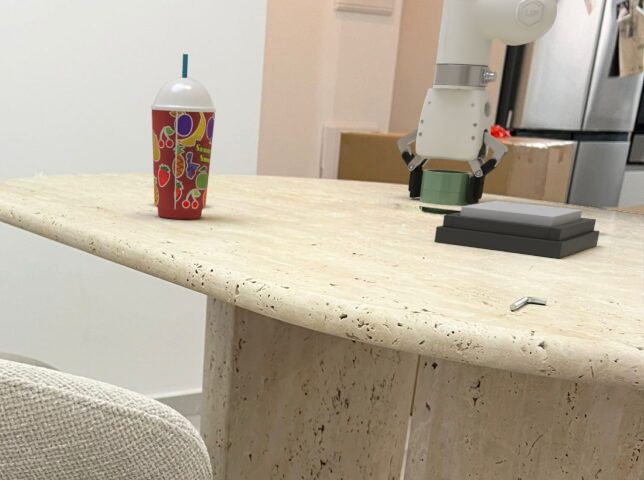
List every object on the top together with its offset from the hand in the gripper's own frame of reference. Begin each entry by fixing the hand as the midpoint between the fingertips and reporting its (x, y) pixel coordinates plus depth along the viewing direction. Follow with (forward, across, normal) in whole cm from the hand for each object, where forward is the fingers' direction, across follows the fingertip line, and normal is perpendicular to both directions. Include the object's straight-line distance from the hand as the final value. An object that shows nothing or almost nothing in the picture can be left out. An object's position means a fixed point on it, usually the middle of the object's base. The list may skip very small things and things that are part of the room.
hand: (443, 200), depth 144 cm
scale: (+2, -20, +24) cm, 31 cm away
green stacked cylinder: (+2, 0, 0) cm, 2 cm away
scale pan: (-1, -20, +24) cm, 31 cm away
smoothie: (+2, +20, +40) cm, 45 cm away
